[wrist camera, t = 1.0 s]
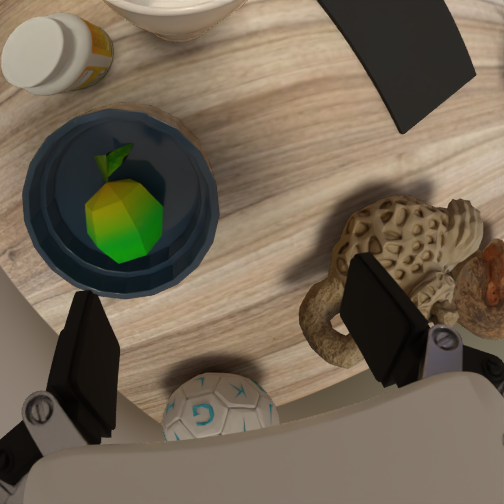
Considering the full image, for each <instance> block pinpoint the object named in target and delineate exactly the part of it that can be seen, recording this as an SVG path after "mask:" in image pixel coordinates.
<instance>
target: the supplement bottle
mask: <svg viewBox="0 0 504 504" xmlns="http://www.w3.org/2000/svg"><path fill="white" fill-rule="evenodd" d="M112 58H113V46H112V42H111V39H110V38H109V36H108V35H107V33H106V32H105V31H103V30H102V29H101V28H99V27H97V26H95V25H93V24H91V23H89V22H87V21H85V20H84V19H82V18H80V17H78V16H76V15H73V14H70V13H54V14H51V15H48V16H40V17H34V18H31V19H29V20H26V21H25V22H23V23H22V24H20V25H19V26H18V27H17V28H16V29H15V30H14V31H13V32H12V33H11V34H10V36H9V37H8V39H7V41H6V43H5V45H4V48H3V51H2V55H1V68H2V72H3V75H4V77H5V79H6V80H7V81H8V82H9V83H10V84H12V85H13V86H15V87H19V88H23V89H25V90H26V91H27V92H29V93H31V94H34V95H39V96H48V95H54V94H58V93H63V92H68V91H74V90H79V89H83V88H87V87H89V86H91V85H93V84H95V83H96V82H97V81H99V80H100V79H101V78H102V77H103V76H104V75H105V73H106V72H107V70H108V69H109V67H110V64H111V62H112Z"/></svg>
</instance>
